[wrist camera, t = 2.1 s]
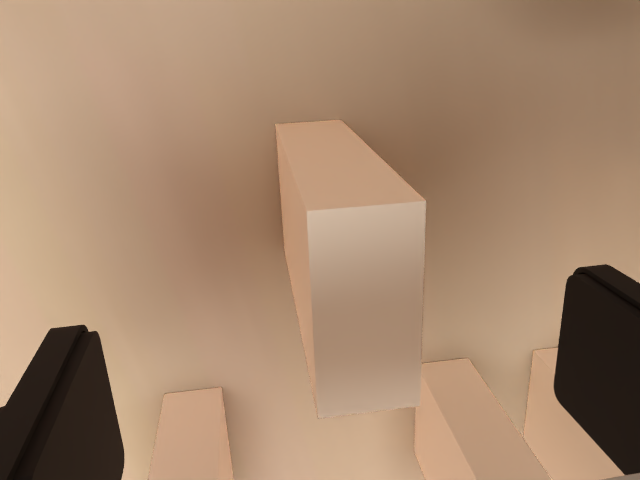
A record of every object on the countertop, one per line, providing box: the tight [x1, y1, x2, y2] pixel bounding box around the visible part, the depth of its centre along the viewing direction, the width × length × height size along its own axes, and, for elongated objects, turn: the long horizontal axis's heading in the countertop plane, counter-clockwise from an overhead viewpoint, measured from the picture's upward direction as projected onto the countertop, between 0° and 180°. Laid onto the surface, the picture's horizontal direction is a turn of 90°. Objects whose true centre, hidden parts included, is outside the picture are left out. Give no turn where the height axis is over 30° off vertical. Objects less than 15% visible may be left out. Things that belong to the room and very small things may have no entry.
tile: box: [275, 120, 426, 419], centre depth 16 cm, size 2×5×10 cm, turn 2°
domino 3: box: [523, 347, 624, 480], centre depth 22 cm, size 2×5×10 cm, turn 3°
